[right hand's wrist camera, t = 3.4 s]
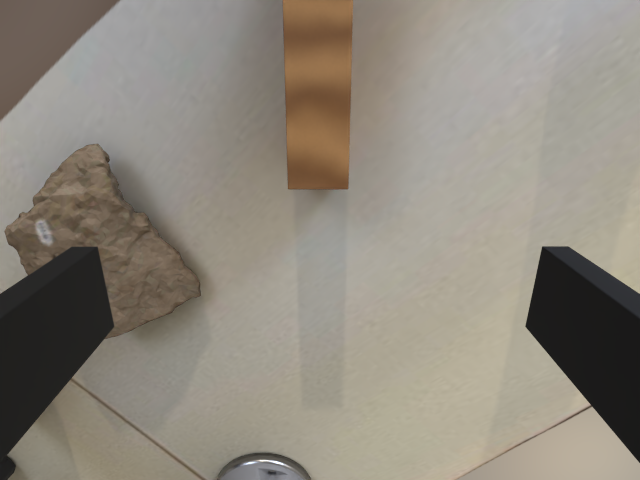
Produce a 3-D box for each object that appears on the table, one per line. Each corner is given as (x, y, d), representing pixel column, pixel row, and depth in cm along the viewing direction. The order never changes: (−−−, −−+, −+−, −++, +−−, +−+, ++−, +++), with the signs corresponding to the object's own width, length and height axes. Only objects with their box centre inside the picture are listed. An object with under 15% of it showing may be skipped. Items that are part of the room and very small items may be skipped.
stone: (-19, 205, 45) (-47, 223, 40) (99, 135, 46) (87, 145, 40) (112, 331, 55) (103, 360, 49) (208, 273, 56) (210, 295, 50)
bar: (343, 172, 47) (348, 189, 40) (292, 172, 47) (288, 189, 40) (348, -80, 39) (356, -120, 31) (287, -80, 39) (279, -120, 31)
